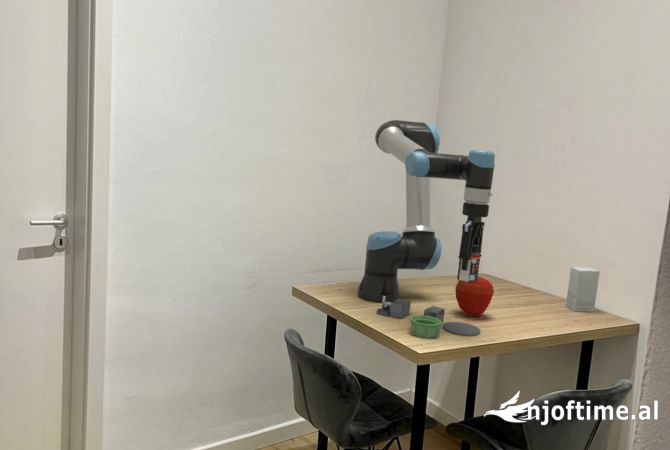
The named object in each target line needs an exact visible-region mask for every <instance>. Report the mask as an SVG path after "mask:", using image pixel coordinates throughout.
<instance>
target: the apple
mask: <svg viewBox="0 0 670 450" xmlns="http://www.w3.org/2000/svg"><path fill="white" fill-rule="evenodd" d="M493 286H494V285H493V284H492V283H491V282H490V280H488V279H487V278H484V277H481V276H478V279H477V282H476V283H464V282H460V281H458V280H457V283H456V285H455V287H454V288H455V299H456V302H457V305H458V307H459V309H460V310H461V312H463V313H464V314H465V315H468V316H470V317H479V316H481V315H482V314H484V313H485V312H486V310H487V308H488V307H489V305H490V304H491V301H492V299H493V295H494V293H495V290H494V287H493Z"/></svg>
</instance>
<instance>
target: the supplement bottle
mask: <svg viewBox="0 0 670 450" xmlns="http://www.w3.org/2000/svg"><path fill="white" fill-rule="evenodd" d="M480 254H481V253H478V245H475V244H473V247H472V252H471V256H470V260H471V265H470V274H469V281H468V282H467V281H461V280H459V276H460V267H461V258H458V260H459V261H458V269H457V270H458V271H457V276H456V279H457V282H458V281H460V282H464V283H476V282H477V279H478V277H479V269H480V261H481V257H480Z"/></svg>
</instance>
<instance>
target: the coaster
mask: <svg viewBox="0 0 670 450" xmlns="http://www.w3.org/2000/svg"><path fill="white" fill-rule="evenodd" d="M442 325H443V326H442V329H443V330H444V331H445V332H447V333H450V334H451V335H457V336H461V337H475V336H479V335H480V333H481V329H480V328H479V327H478V326H476V325H473V324H470V323H467V322H460V321H447V322H445V323H443V324H442Z"/></svg>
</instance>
